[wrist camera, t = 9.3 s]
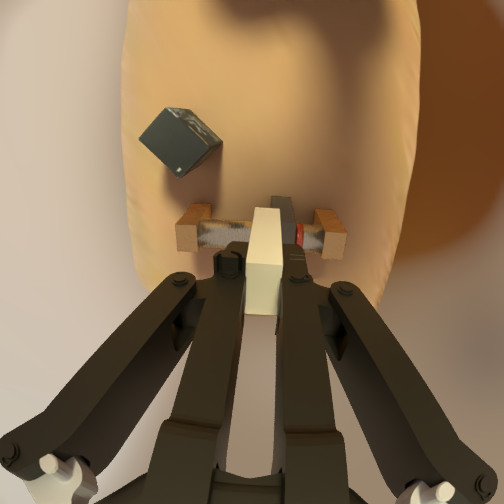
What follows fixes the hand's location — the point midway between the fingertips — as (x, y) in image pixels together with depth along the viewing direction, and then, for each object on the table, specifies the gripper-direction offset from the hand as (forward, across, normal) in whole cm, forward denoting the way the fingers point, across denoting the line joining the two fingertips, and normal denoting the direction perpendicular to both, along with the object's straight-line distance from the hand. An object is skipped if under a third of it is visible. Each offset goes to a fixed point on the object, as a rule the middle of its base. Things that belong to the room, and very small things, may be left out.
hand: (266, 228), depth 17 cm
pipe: (+26, -1, -10) cm, 28 cm away
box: (+27, -12, +3) cm, 29 cm away
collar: (+19, +2, -10) cm, 22 cm away
